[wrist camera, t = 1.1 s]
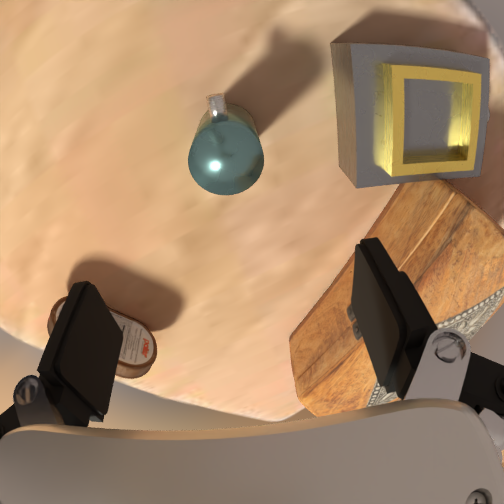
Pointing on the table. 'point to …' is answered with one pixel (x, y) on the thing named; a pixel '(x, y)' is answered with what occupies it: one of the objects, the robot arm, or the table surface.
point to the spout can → (225, 149)
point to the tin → (124, 343)
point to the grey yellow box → (409, 112)
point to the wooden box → (424, 280)
